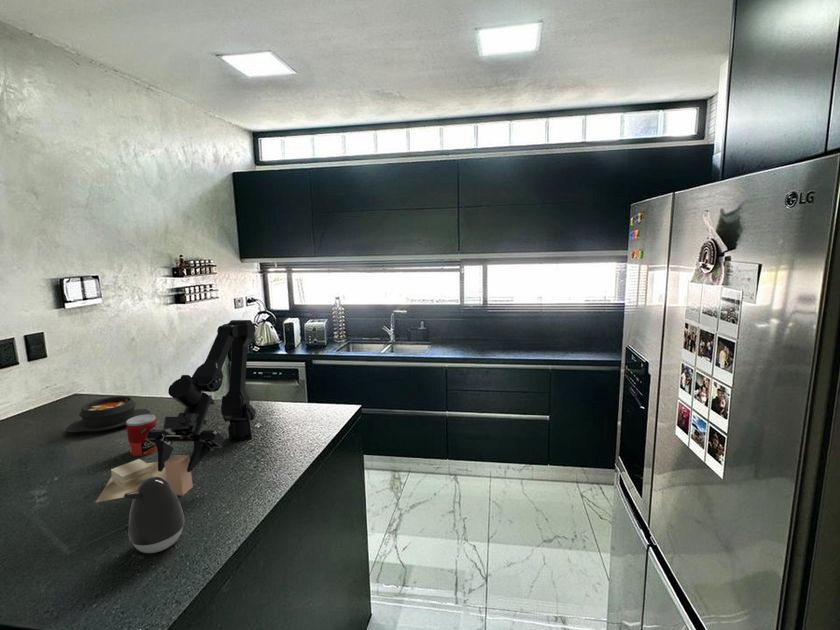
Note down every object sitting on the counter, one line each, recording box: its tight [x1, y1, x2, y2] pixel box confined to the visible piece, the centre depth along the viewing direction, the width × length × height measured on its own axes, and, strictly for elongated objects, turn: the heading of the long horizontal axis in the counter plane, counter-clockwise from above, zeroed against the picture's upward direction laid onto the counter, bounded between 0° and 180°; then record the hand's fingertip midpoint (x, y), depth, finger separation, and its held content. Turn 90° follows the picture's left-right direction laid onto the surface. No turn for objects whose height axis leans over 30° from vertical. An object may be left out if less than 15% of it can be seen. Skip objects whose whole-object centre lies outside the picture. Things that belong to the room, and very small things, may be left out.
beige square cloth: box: [95, 461, 167, 503], centre depth 120 cm, size 18×18×1 cm
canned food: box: [125, 413, 158, 457], centre depth 135 cm, size 8×8×11 cm
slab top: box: [110, 458, 152, 483], centre depth 119 cm, size 7×7×2 cm
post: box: [164, 454, 194, 498], centre depth 112 cm, size 4×4×10 cm
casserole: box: [65, 395, 151, 434], centre depth 158 cm, size 25×19×8 cm
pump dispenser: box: [123, 477, 185, 554], centre depth 92 cm, size 10×10×15 cm
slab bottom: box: [111, 472, 152, 489], centre depth 119 cm, size 7×7×2 cm
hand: (173, 471), depth 111 cm, fingers open, 7 cm apart
